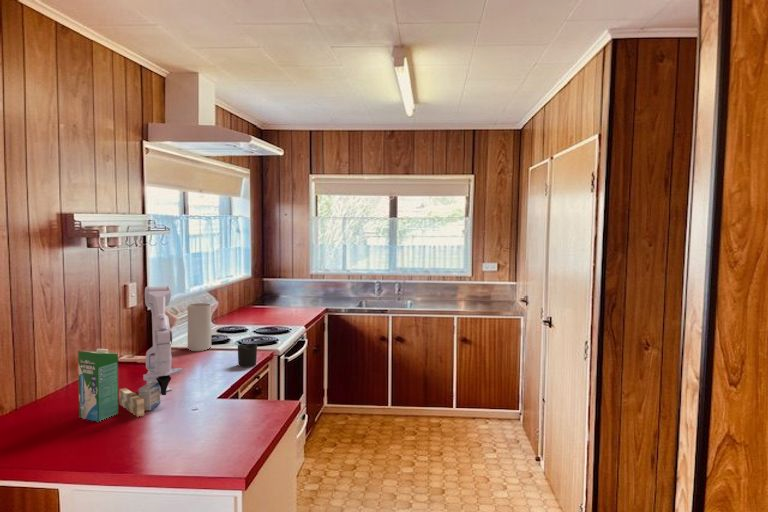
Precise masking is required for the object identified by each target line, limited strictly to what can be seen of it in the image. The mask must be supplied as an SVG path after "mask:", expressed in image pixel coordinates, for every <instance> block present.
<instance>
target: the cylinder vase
mask: <svg viewBox="0 0 768 512" xmlns="http://www.w3.org/2000/svg"><path fill="white" fill-rule="evenodd" d="M210 347H211V348H212V304H211V303H207V302H204V303H203V302H196V303H189V304H187V350H188V349H189V350H188V351H190V350H191V351H190V352H204V350H206V351H208V350H207V349H209V348H210ZM211 348H210V349H211ZM210 349H209V350H210Z"/></svg>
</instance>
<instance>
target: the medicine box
mask: <svg viewBox="0 0 768 512" xmlns="http://www.w3.org/2000/svg"><path fill="white" fill-rule="evenodd" d="M138 396H139V397H141V398H142V399H144V412H145V411H152V410H154V409H155V408H156V407H157V406H159V405H160V404H161V392H160V387H159V382H150V383H147V382H146V384H145V385H142V386H141V387H139V388H138Z"/></svg>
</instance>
